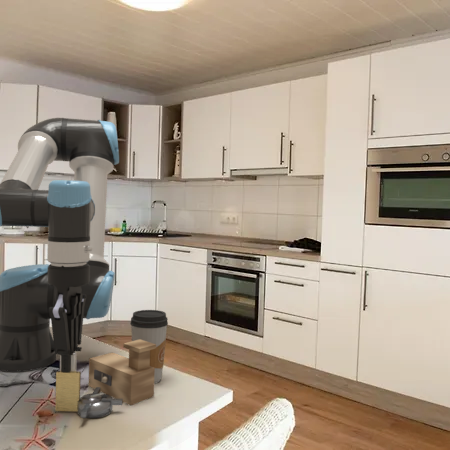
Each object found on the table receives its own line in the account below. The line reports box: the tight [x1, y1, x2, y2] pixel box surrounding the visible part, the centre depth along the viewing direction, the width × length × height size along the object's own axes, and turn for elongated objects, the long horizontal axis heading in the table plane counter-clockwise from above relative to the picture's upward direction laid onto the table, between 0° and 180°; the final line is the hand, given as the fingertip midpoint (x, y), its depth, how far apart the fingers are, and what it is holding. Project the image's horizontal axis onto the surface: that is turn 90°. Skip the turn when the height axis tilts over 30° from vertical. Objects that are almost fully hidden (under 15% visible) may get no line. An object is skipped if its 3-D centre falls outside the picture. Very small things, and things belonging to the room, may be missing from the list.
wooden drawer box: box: [88, 339, 156, 406], centre depth 99 cm, size 14×7×11 cm, turn 50°
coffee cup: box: [130, 309, 169, 385], centre depth 106 cm, size 8×8×15 cm
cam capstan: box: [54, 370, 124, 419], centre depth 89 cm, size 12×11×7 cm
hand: (68, 386), depth 90 cm, fingers closed
